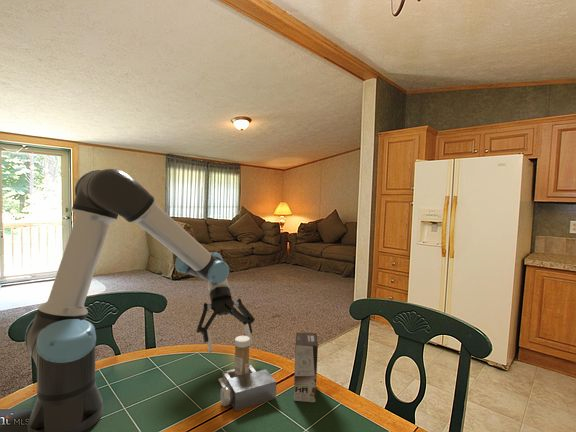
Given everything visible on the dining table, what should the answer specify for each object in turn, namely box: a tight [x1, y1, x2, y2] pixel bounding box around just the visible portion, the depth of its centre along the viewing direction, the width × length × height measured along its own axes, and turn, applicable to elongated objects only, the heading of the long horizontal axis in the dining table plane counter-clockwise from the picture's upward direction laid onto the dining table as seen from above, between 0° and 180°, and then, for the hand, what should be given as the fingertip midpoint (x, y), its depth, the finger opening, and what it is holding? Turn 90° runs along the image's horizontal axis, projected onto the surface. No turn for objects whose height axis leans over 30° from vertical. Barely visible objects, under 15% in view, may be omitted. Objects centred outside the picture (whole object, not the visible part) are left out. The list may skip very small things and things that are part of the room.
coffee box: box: [293, 331, 319, 403], centre depth 91 cm, size 9×6×16 cm
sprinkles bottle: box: [234, 335, 250, 377], centre depth 94 cm, size 5×5×14 cm
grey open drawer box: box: [217, 364, 277, 412], centre depth 91 cm, size 14×16×5 cm
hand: (231, 347), depth 103 cm, fingers open, 13 cm apart
